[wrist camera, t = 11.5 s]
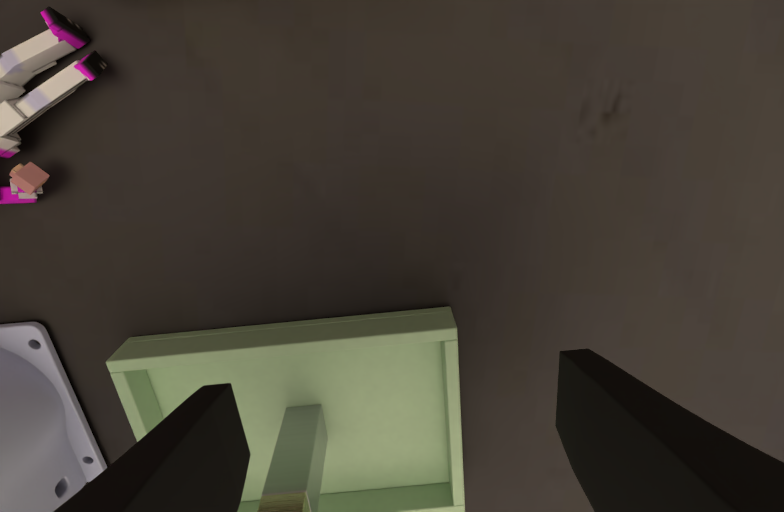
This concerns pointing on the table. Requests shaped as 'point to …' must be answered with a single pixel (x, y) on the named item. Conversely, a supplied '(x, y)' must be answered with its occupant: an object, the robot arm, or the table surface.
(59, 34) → the character figurine
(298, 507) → the tall bottle
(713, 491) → the robot arm
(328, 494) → the tray
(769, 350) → the table surface
